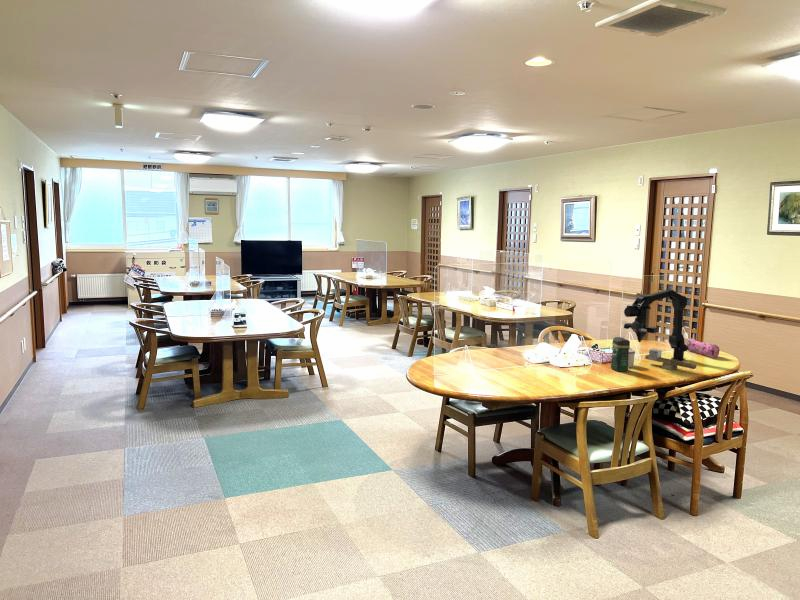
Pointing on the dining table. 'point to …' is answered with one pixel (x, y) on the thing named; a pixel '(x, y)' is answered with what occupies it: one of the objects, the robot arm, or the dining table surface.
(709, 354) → the pencil case
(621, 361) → the coffee jar
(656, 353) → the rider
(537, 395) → the dining table surface
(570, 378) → the dining table surface
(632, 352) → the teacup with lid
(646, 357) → the beam
